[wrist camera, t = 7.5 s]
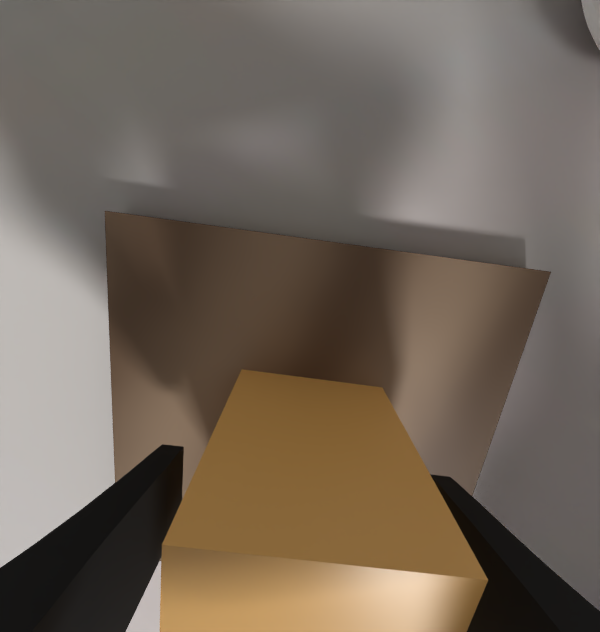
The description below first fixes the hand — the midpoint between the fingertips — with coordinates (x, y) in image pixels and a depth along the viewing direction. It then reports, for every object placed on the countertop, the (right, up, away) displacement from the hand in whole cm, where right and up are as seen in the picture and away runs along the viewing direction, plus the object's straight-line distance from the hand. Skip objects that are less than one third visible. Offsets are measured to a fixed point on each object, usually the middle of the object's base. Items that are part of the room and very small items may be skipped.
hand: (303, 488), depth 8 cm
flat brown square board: (0, +1, +3) cm, 3 cm away
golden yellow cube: (0, 0, +2) cm, 2 cm away
